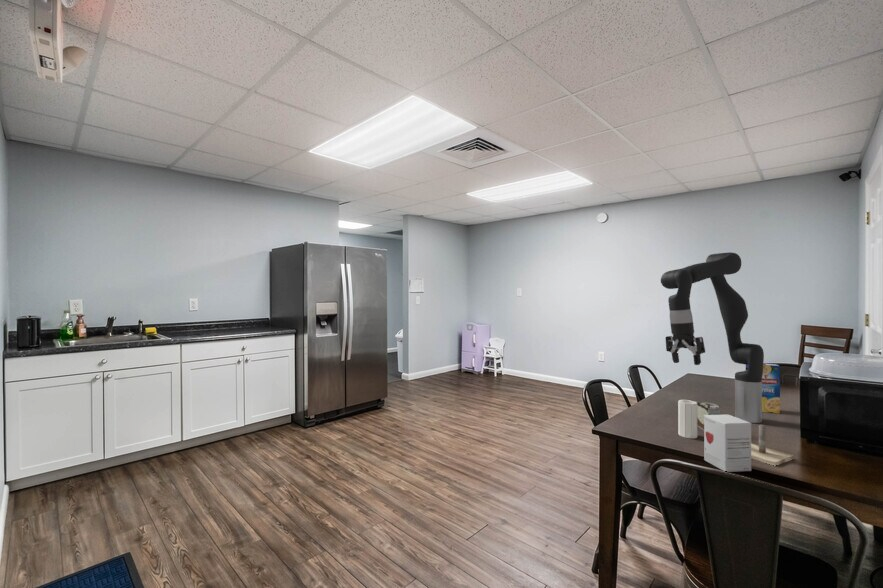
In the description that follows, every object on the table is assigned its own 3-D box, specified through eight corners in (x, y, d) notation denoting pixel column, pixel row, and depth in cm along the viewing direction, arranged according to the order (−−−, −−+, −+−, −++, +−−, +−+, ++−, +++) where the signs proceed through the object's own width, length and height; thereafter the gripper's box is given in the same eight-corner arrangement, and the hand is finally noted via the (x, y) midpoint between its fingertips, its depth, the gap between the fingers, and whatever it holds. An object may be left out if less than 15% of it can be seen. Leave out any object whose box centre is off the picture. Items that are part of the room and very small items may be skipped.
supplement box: (702, 460, 128) (702, 414, 128) (728, 459, 128) (728, 413, 129) (725, 472, 119) (725, 423, 119) (752, 471, 119) (752, 422, 120)
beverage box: (780, 413, 179) (780, 365, 179) (751, 411, 183) (751, 364, 183) (773, 409, 186) (773, 363, 186) (745, 407, 189) (745, 362, 189)
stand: (751, 446, 139) (751, 418, 139) (793, 459, 128) (793, 428, 128) (732, 452, 134) (732, 422, 134) (774, 466, 123) (774, 433, 123)
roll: (684, 431, 154) (684, 399, 155) (700, 436, 149) (700, 402, 149) (675, 434, 152) (674, 400, 152) (691, 439, 146) (691, 404, 146)
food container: (727, 435, 150) (726, 409, 150) (709, 434, 152) (709, 408, 152) (711, 425, 162) (711, 401, 163) (695, 424, 164) (695, 400, 164)
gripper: (706, 320, 145) (711, 364, 144) (671, 320, 158) (676, 360, 158) (692, 322, 142) (697, 367, 142) (658, 322, 156) (663, 363, 155)
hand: (686, 363), depth 150 cm, fingers open, 8 cm apart
